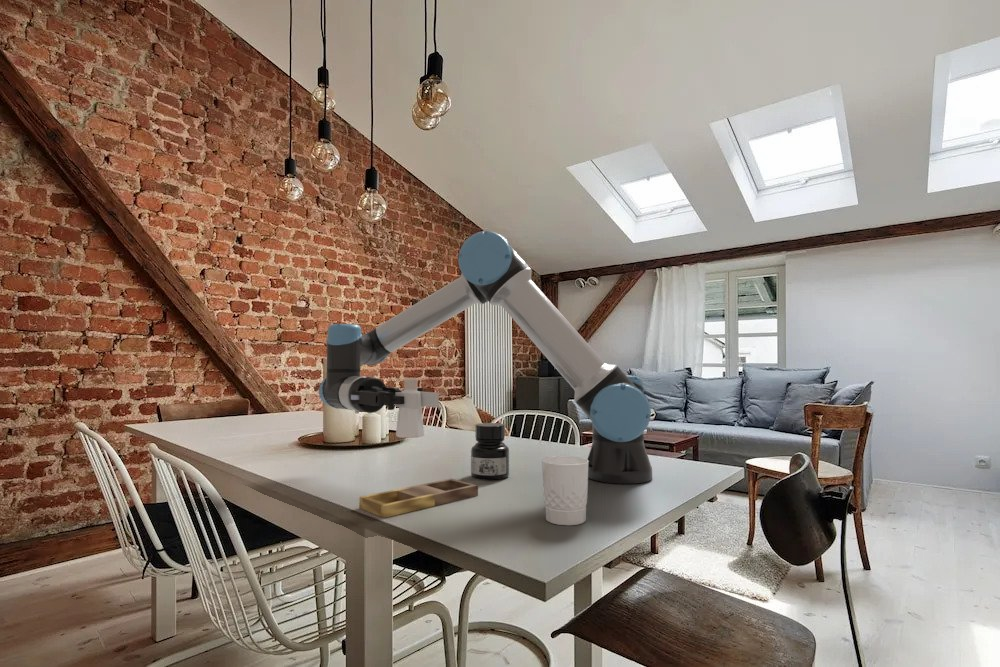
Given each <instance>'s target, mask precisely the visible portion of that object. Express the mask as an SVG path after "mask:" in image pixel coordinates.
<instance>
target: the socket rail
mask: <svg viewBox="0 0 1000 667" xmlns="http://www.w3.org/2000/svg"><path fill="white" fill-rule="evenodd" d="M477 496H479V485H477V484H474V483H470V482H466V481H463V480H459V479H454V478H448V479H442V480H438V481H432V482H427V483H422V484H417V485H412V486H407V487H402V488H396V489H393V490H392V489H391V490H386V491H382V492H377V493H372V494H366V495H363V496H359V497H358V500H359V501H358V504H359V505H358V508H359V509H361V510H364V511H366V512H368V513H371V514H374V515H376V516H378V517H381V518H384V519H385V518H389V517H393V516H398V515H402V514H406V513H410V512H415V511H418V510H423V509H427V508H432V507H436V506H439V505H443V504H448V503H452V502H453V503H454V502H457V501H459V500H460V501H461V500H465V499H468V498H472V497H473V498H474V497H477Z"/></svg>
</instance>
